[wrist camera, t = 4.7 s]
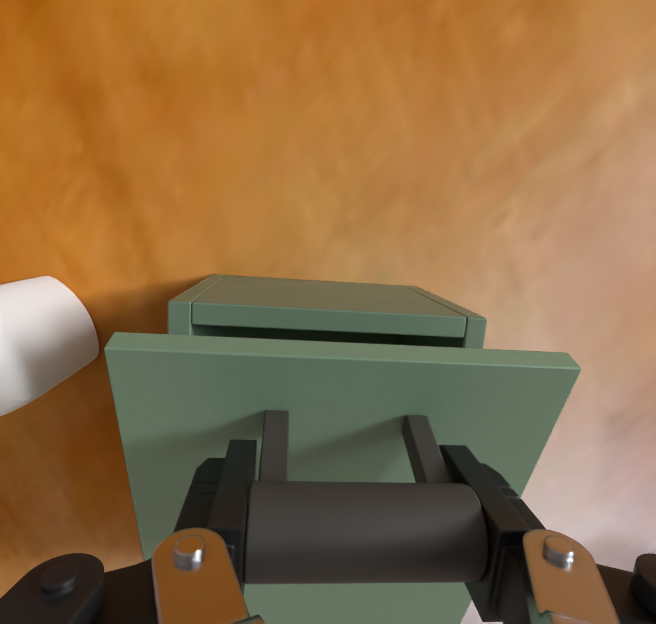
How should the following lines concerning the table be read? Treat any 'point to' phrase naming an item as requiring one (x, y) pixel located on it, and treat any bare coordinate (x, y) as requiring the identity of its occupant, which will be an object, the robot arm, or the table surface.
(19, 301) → the eye dropper bottle
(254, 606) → the lid
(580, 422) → the table surface
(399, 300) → the chest
